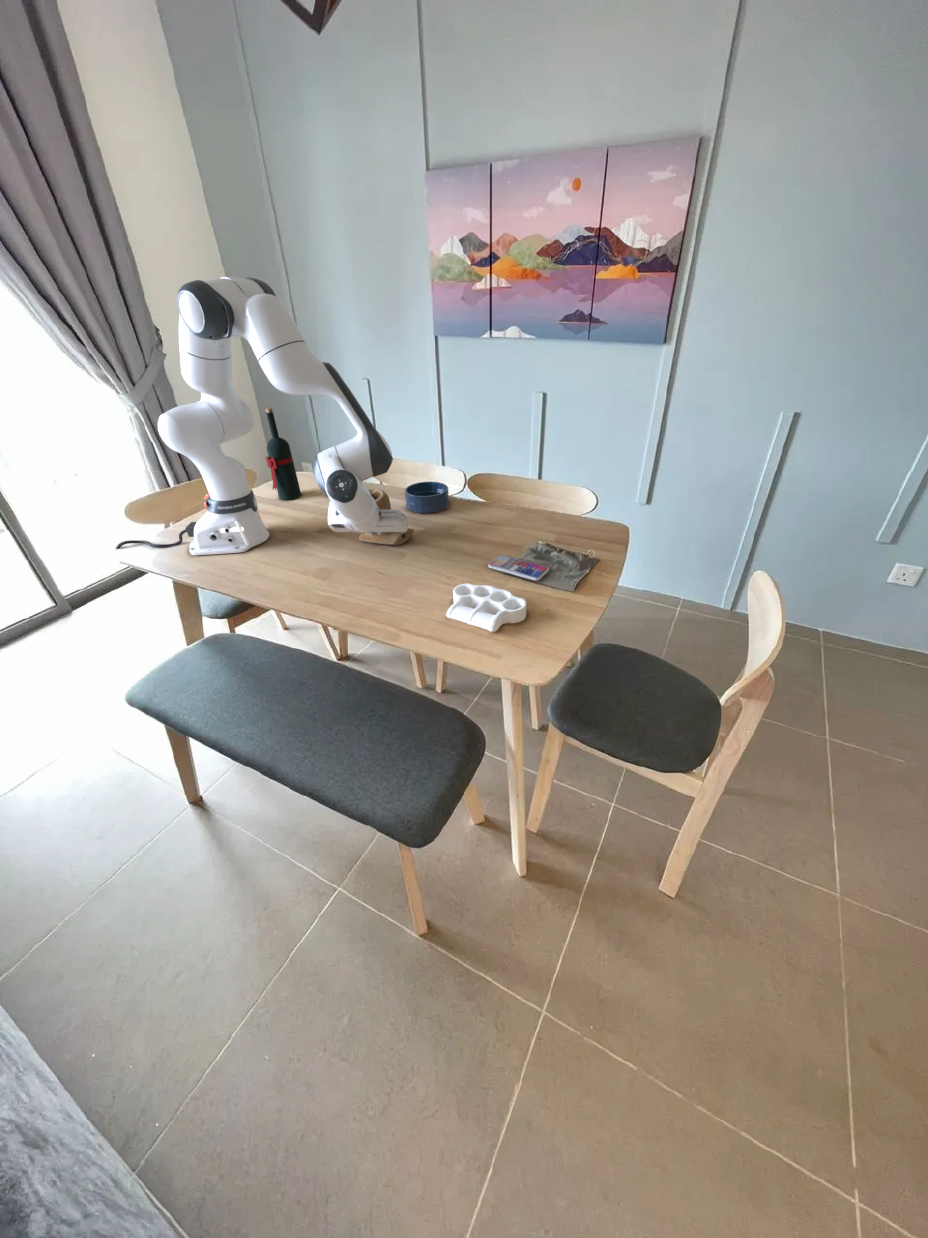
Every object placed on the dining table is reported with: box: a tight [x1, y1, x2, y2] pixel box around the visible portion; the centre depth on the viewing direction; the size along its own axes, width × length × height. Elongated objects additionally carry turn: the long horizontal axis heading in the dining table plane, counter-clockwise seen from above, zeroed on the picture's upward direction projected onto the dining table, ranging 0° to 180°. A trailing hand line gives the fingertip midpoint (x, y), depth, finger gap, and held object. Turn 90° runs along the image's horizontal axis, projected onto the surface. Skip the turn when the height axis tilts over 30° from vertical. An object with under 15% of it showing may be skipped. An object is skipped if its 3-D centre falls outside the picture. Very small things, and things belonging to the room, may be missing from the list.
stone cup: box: [358, 488, 415, 546], centre depth 140 cm, size 15×12×15 cm
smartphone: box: [487, 554, 550, 582], centre depth 127 cm, size 7×1×15 cm
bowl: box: [404, 481, 450, 514], centre depth 164 cm, size 14×14×6 cm
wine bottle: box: [264, 407, 302, 502], centre depth 168 cm, size 8×10×30 cm
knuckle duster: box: [445, 582, 527, 633], centre depth 111 cm, size 3×18×15 cm
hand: (376, 532), depth 136 cm, fingers closed
